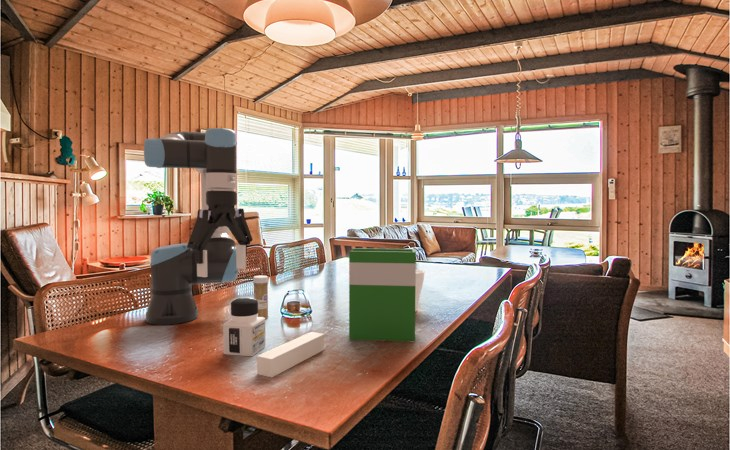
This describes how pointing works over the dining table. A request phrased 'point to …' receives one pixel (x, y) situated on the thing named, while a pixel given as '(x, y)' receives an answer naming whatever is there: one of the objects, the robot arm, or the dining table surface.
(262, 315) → the sprinkles bottle
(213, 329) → the dining table surface
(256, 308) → the container
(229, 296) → the dining table surface
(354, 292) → the hardback book
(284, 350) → the white rectangular bar
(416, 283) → the cup
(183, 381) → the dining table surface
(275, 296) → the dining table surface
